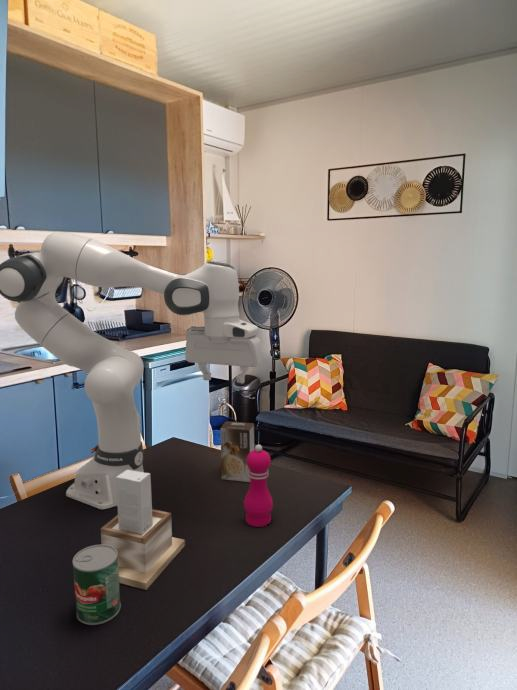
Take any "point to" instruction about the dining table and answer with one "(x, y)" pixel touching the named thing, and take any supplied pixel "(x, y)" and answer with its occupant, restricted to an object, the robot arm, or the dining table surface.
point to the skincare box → (134, 501)
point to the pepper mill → (258, 489)
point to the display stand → (143, 549)
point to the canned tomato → (96, 584)
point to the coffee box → (236, 450)
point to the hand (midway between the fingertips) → (223, 381)
